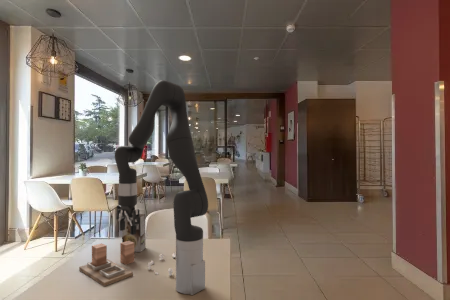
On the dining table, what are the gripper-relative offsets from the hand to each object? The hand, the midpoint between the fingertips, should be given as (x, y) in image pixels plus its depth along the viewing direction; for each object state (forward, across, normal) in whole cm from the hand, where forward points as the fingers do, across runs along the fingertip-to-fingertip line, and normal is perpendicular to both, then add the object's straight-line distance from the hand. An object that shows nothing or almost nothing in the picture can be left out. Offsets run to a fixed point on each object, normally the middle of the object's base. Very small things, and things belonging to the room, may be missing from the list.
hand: (127, 232), depth 120 cm
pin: (+12, 0, 0) cm, 12 cm away
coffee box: (+13, +11, -10) cm, 19 cm away
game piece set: (+13, -17, -10) cm, 24 cm away
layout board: (+12, -3, +11) cm, 17 cm away
